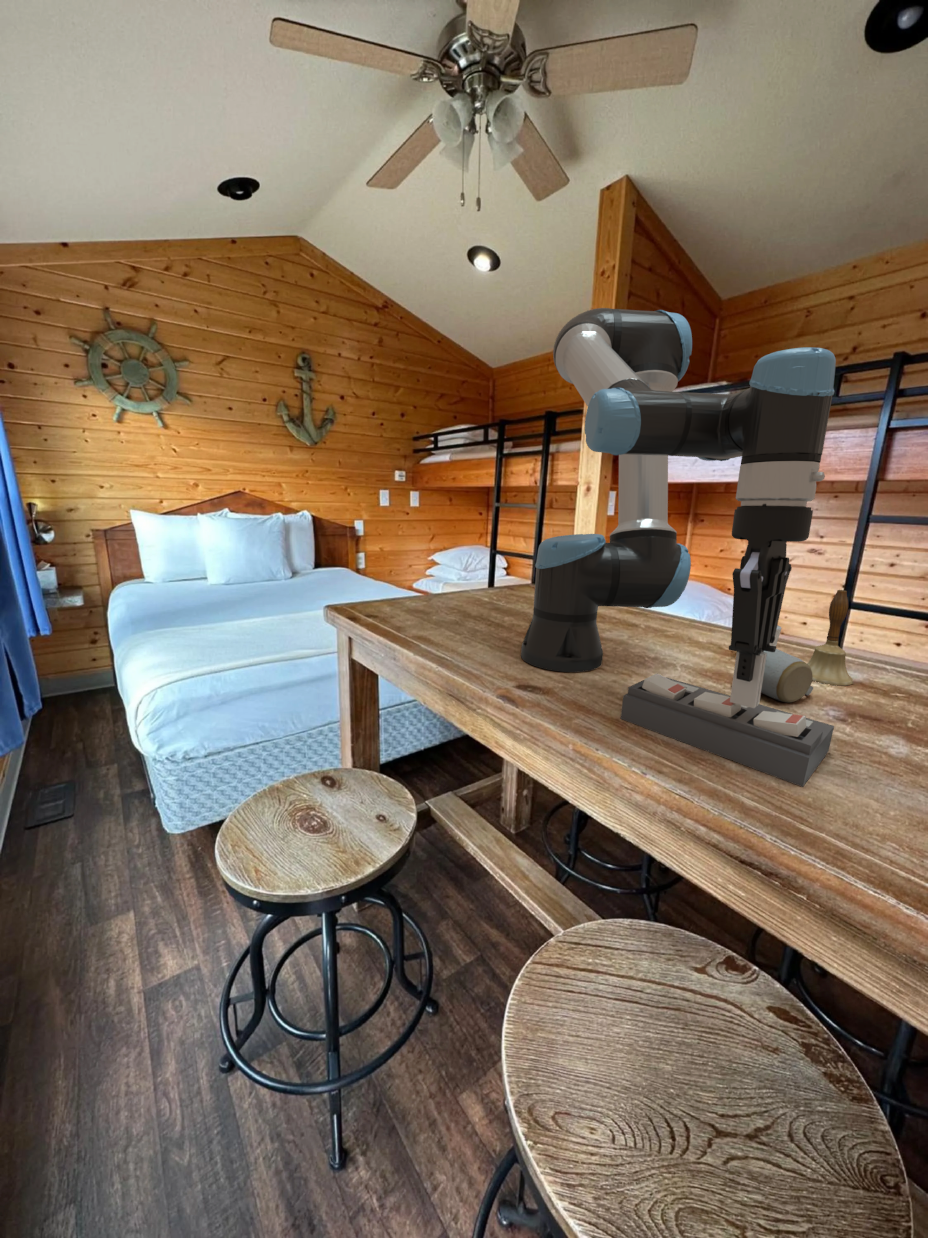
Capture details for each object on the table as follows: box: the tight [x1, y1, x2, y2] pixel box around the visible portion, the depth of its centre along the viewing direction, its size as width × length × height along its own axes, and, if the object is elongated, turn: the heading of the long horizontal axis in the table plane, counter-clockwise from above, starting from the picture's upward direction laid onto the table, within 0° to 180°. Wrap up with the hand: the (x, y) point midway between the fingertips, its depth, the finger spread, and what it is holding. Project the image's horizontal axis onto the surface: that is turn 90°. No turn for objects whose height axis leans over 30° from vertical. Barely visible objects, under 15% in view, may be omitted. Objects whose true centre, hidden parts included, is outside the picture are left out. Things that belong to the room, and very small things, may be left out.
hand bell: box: [806, 589, 854, 687], centre depth 88 cm, size 8×8×16 cm
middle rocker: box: [694, 692, 741, 718], centre depth 63 cm, size 4×4×2 cm
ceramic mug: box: [761, 648, 814, 703], centre depth 80 cm, size 11×8×8 cm
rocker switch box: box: [620, 676, 835, 788], centre depth 66 cm, size 22×12×5 cm, turn 43°
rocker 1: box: [642, 673, 687, 701], centre depth 68 cm, size 4×4×2 cm
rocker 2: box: [753, 711, 807, 737], centre depth 58 cm, size 4×4×2 cm
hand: (744, 703), depth 61 cm, fingers closed, pressing on middle rocker
